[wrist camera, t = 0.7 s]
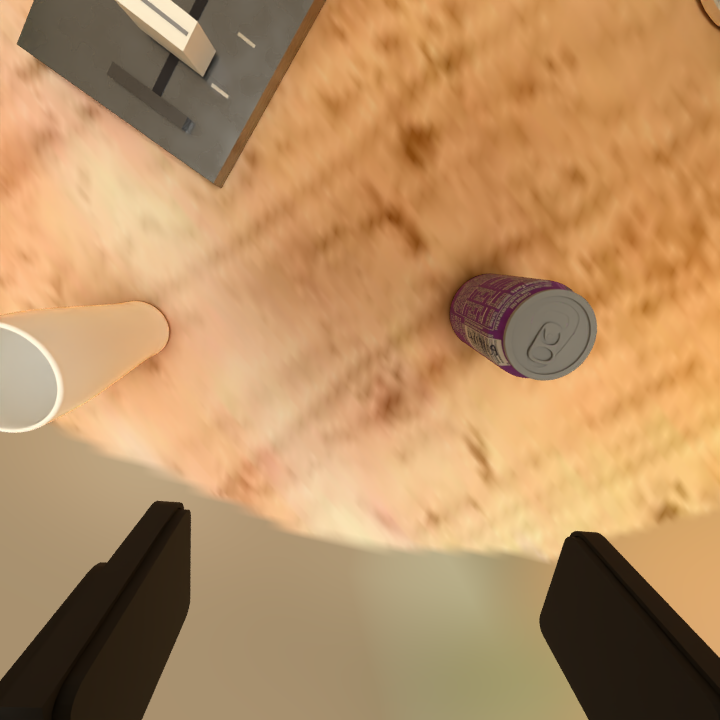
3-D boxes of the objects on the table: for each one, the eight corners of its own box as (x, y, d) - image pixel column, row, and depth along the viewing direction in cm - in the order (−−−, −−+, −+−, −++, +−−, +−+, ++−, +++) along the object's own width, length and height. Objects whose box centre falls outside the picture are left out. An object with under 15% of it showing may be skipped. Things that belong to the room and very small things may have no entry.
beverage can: (501, 354, 37) (574, 399, 25) (436, 333, 36) (481, 370, 24) (531, 286, 35) (623, 301, 23) (464, 263, 34) (525, 266, 23)
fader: (153, 1, 26) (123, -38, 22) (216, 51, 27) (197, 20, 23) (140, 29, 26) (109, -6, 23) (203, 77, 27) (182, 50, 24)
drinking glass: (162, 374, 36) (40, 454, 21) (95, 340, 34) (-84, 400, 20) (191, 316, 34) (81, 359, 20) (122, 278, 33) (-50, 294, 19)
